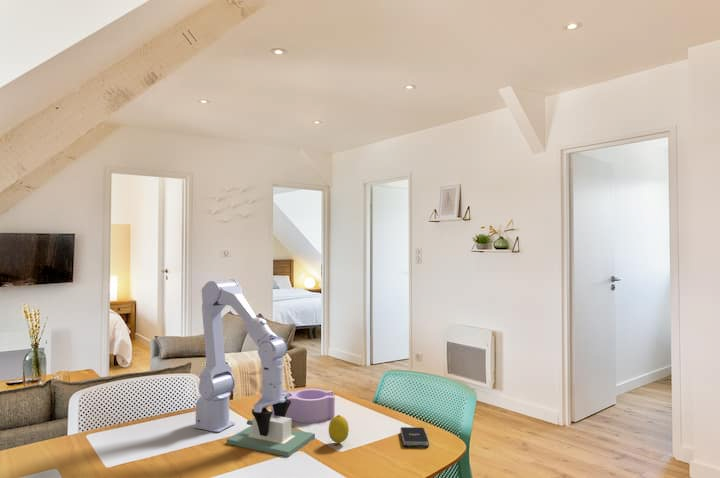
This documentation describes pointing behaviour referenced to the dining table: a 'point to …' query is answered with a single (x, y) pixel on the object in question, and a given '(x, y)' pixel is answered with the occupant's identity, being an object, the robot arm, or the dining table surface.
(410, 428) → the external hard drive
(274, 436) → the plug housing
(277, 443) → the board
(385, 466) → the dining table surface
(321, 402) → the purple lobed piece
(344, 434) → the lemon
